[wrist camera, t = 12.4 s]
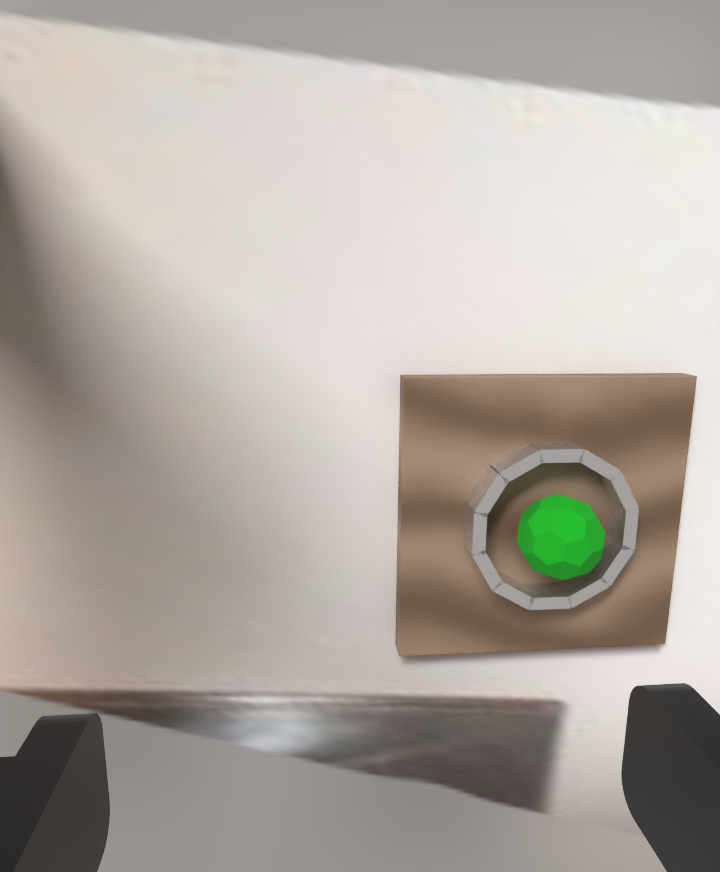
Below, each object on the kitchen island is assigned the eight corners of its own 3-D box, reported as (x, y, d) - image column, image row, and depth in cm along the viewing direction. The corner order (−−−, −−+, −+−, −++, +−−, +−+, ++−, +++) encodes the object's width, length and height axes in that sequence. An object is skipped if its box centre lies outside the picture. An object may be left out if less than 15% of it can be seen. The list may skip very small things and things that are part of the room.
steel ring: (467, 442, 39) (476, 450, 37) (628, 440, 39) (645, 447, 38) (461, 597, 41) (469, 612, 39) (613, 591, 42) (629, 606, 40)
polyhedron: (596, 500, 40) (635, 526, 35) (563, 569, 41) (597, 604, 36) (525, 474, 39) (556, 498, 35) (494, 545, 40) (519, 577, 36)
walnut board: (400, 375, 39) (404, 378, 37) (682, 373, 40) (696, 376, 39) (395, 643, 43) (399, 656, 41) (653, 632, 44) (665, 644, 43)
